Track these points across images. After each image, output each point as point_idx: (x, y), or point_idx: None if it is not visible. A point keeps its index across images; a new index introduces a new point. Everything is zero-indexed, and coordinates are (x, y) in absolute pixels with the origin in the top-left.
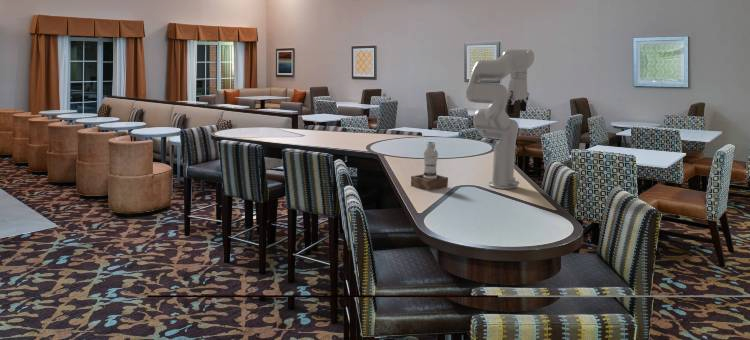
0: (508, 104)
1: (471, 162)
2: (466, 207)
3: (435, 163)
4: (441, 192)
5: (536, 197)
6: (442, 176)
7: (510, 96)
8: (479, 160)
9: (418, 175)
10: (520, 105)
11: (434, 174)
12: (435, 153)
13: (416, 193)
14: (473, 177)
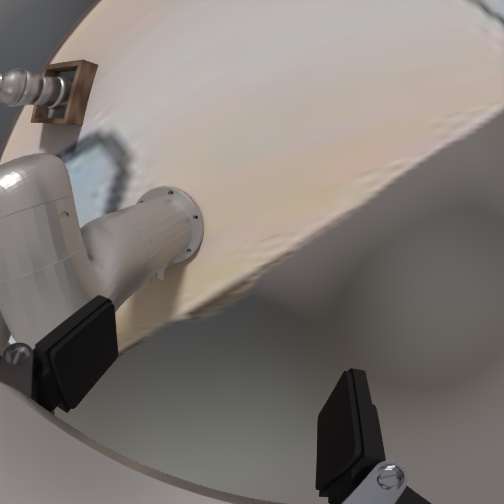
0: (38, 350)
1: (428, 16)
2: None
3: (27, 104)
4: (47, 150)
5: (133, 325)
6: (68, 106)
7: (4, 454)
8: (467, 33)
9: (55, 66)
10: (350, 426)
11: (45, 106)
12: (5, 105)
13: (26, 124)
14: (218, 98)
